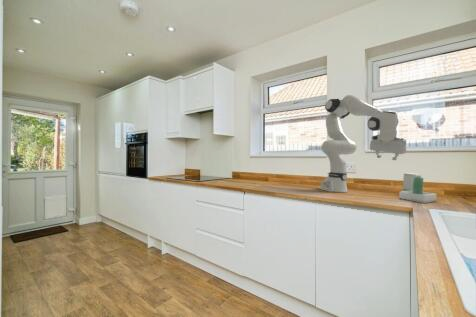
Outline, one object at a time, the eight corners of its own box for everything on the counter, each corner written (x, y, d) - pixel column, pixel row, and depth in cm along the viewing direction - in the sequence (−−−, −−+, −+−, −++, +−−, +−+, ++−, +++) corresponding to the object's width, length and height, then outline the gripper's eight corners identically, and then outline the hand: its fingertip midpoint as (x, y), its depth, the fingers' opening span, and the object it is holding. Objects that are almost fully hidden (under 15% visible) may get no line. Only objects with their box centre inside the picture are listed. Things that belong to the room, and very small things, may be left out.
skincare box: (402, 194, 162) (402, 173, 162) (404, 193, 167) (405, 172, 166) (416, 196, 156) (417, 174, 155) (419, 195, 160) (419, 173, 160)
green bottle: (410, 197, 147) (411, 174, 146) (414, 197, 149) (416, 174, 149) (419, 199, 142) (421, 175, 142) (423, 198, 145) (425, 175, 144)
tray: (399, 198, 149) (399, 191, 149) (411, 196, 155) (411, 190, 155) (424, 202, 136) (424, 195, 136) (436, 201, 142) (436, 193, 142)
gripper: (409, 137, 133) (407, 160, 136) (374, 135, 150) (373, 155, 153) (403, 139, 130) (401, 162, 133) (368, 136, 148) (367, 157, 151)
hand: (386, 158), depth 143 cm, fingers open, 8 cm apart
